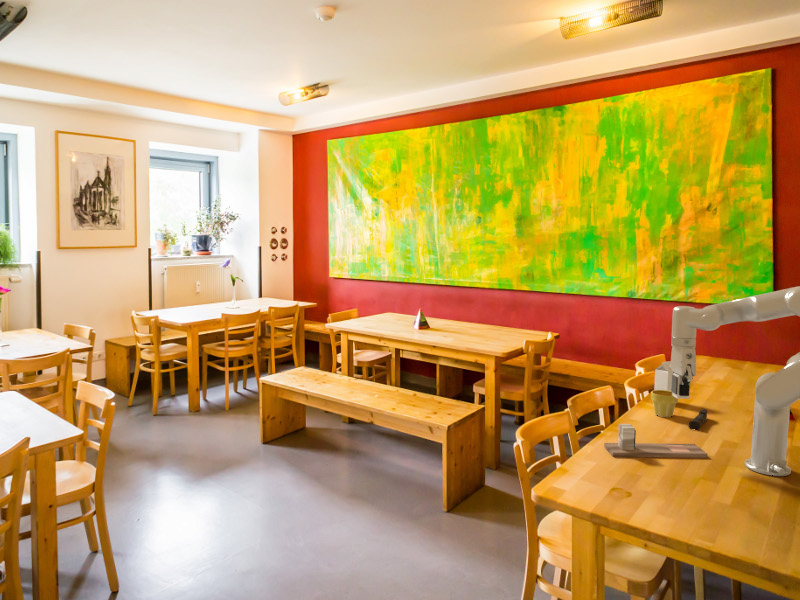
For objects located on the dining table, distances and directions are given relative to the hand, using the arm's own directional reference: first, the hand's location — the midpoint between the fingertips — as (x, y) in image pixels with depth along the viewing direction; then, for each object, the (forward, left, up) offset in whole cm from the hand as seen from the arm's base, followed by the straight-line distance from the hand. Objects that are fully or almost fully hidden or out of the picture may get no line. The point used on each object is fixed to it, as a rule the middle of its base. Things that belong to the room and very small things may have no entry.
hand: (681, 393), depth 194 cm
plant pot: (+41, -12, -21) cm, 48 cm away
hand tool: (+31, -22, -22) cm, 43 cm away
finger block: (0, 0, -1) cm, 1 cm away
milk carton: (+60, -21, -21) cm, 67 cm away
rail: (-1, +9, -21) cm, 23 cm away
